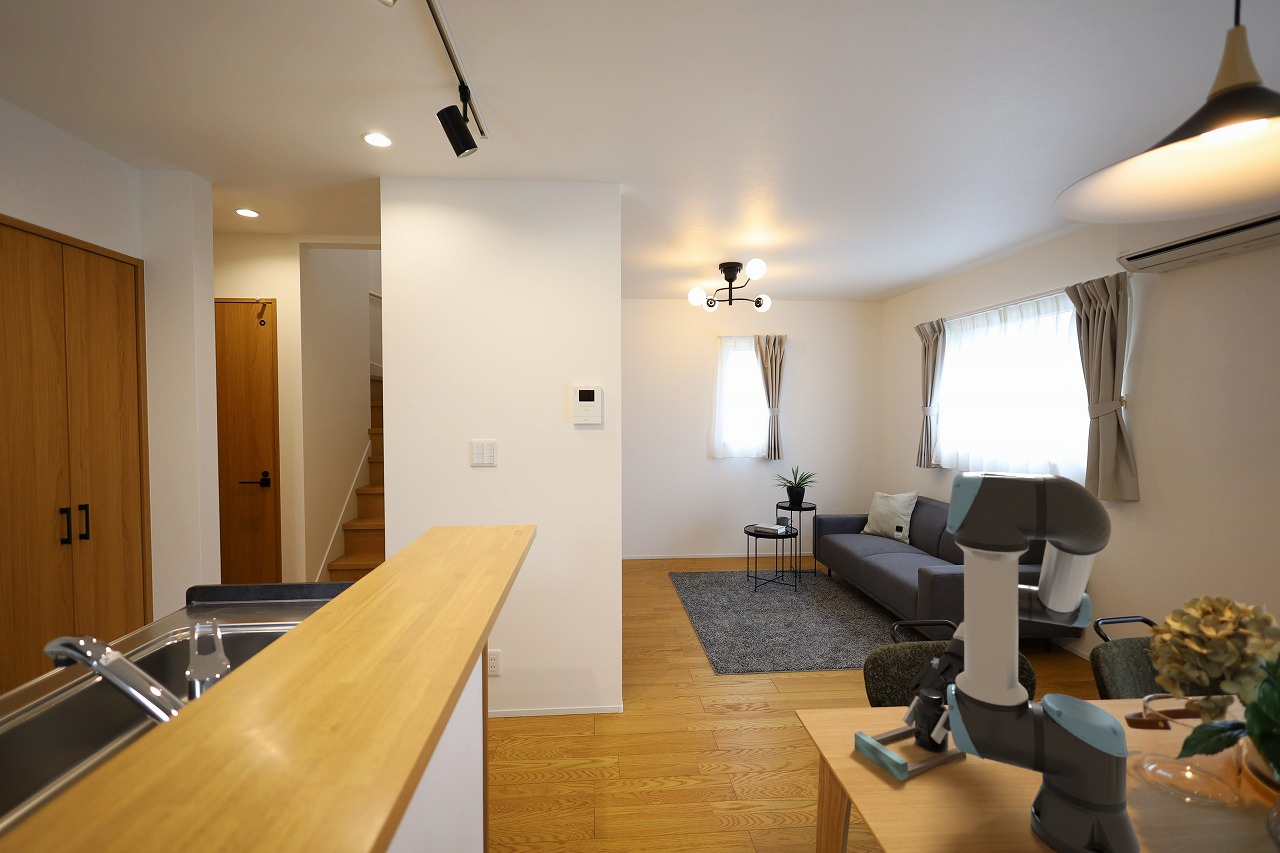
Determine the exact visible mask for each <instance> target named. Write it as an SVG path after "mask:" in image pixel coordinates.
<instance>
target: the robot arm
mask: <svg viewBox="0 0 1280 853" xmlns="http://www.w3.org/2000/svg"><path fill="white" fill-rule="evenodd" d="M951 487H952V488H951V494H950V499H949V500H950V501H949V506H948V515H947V521H946V528H945V529H946V532H948V533H950V534H951V535H953V534H954V543H955V544H956V545H957V546H958V547H959V548H960V550H962V551H963V580H964V581H963V587H964V588H963V591H964V592H963V595H964V596H963V597H964V598H963V601H964V602H963V604H964V605H963V611H964V612H963V613H964V614H963V615H964V617H963V619H962V621H961V622H960V623H959V625H958V627H957V628H956V630H955V632H954V633H953V635H952V637H953V638H951V639H950V641H949V642H948V643H947V646H946V647H945V649H944V654H943V655H942V656H941V657H940V658H937V657H933V656H932V655H930V654H929V655H927V656H926V660H925V663H924V665H923V666H922V667H921V668H920V669H919V671H918V672H917V674H916V676H914V678H913V679H912V681H911V682H910V684H908V687H907V688H908V689H909V690H910V691H911V693H912V696H911V698H910V699H909V701H908V703H907V707H908V709H907V710H906V712H905V714H904V716H903V718H902V721H903V722H904V723H905V724H906V726H907V725H908V726H909V727H911V726H912V725H913V723H915V704H916V702H917V701H919V700H920V699H919V696H920V690H921V689H924V688H929V689H934V690H936V689H938V688H939V687H940V686H941V685H942V684H945V683H947V682H950V683H952V684H948V686H947V688H946V697H947V699H946V700H947V710H948V712H947V711H944V713H943V715H942V717H941V718H940V720H939V722H938V724H937V725H936V727H935V729H934V731H933V733H932V734H931V737H932V738H933V739H934V740H935V741H936V742H937V743H938V744H940V743H941V741H942V739H943V737H944V736H945V734H946V732H947V730H948V732H951V737H952V741H953V743H954V745H955V748H958V749H959V750H961V751H962V752H965V753H966V754H968V755H971V756H975V757H978V758H979V759H982V760H984V759H986V760H990V761H994V762H999V763H1001V764H1005V765H1009V766H1013V767H1016V768H1017V767H1018V768H1021V769H1025V770H1029V771H1032V772H1037V773H1041V776H1042V781H1041V784H1040V786H1039V788H1038V791H1037V793H1036V795H1035V798H1034V800H1033V802H1032V804H1031V808H1030V824H1031V827H1032V828H1033V831H1034V832H1035V834H1036V836H1038V837H1039V838H1040V839H1041V840H1042V842H1044V843H1045V844H1046V845H1047V846H1048V847H1050V848H1051V849H1053V850H1054V851H1055V852H1057V853H1141V845H1140V842H1139V838H1138V836H1137V833H1136V831H1135V830H1136V829H1134V828H1135V827H1134V825H1133V823H1132V820H1131V818H1130V813H1129V812H1128V808H1127V757H1128V755H1129V751H1128V748H1127V747H1128V746H1127V736H1126V731H1125V729H1124V726H1123V725H1122V724H1121V722H1120V721H1119V720H1118V719H1117V718H1116V717H1114V716H1113V714H1111V713H1109V712H1107V711H1106V710H1105V709H1104V708H1103V709H1102V708H1101V707H1100V706H1097V705H1095V704H1093V703H1091V702H1089V701H1087V700H1083V699H1081V698H1077V697H1075V696H1071V695H1066V694H1061V693H1054V694H1053V693H1047V694H1044V696H1042V698H1041V700H1040V702H1038V701H1033V700H1029V694H1028V691H1027V689H1026V688H1025V687H1024V686H1023V685H1022V684H1021V683H1020V682H1019V620H1025V621H1033V622H1040V623H1046V624H1047V623H1048V624H1053V625H1061V626H1065V627H1070V628H1071V627H1078V628H1087V627H1089V626H1090V625H1091V623H1092V615H1093V612H1092V601H1091V598H1090V596H1089V594H1087V593H1086V592H1085V591H1086V588H1087V585H1088V582H1089V579H1090V576H1091V573H1092V570H1093V567H1094V566H1093V565H1094V563H1095V560H1096V557H1097V554H1099V553H1100V552H1102V551H1104V549H1105V548H1106V547H1107V546H1108V543H1109V540H1110V538H1111V535H1112V523H1111V519H1110V516H1109V513H1108V511H1107V509H1106V507H1105V506H1104V504H1103V503H1102V502H1101V500H1100V499H1099V498H1098V497H1097V496H1095V494H1094V493H1093V492H1092V491H1090V490H1089V489H1088V488H1086V487H1085V486H1083V485H1081V484H1080V483H1079V482H1077V481H1075V480H1072V479H1070V478H1069V477H1064V476H1061V475H1057V474H1051V473H1021V472H1018V473H1017V472H998V471H996V472H994V471H984V470H983V471H970V472H969V471H967V472H966V471H965V472H959V473H957V474H956V475H955V476H954V478H953V480H952V486H951ZM1029 540H1038V541H1046V544H1045V548H1044V554H1043V560H1042V565H1041V571H1040V574H1039V576H1040V577H1039V581H1038V586H1037V585H1030V584H1029V585H1028V584H1021V583H1020V584H1019V558H1020V556H1022V555H1023V554H1025V553H1027V552H1028V551H1029V548H1030V546H1029V545H1030V543H1029V542H1030V541H1029Z"/></svg>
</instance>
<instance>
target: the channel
mask: <svg viewBox="0 0 1280 853" xmlns="http://www.w3.org/2000/svg"><path fill="white" fill-rule="evenodd" d="M913 735H914V736H915V722H914V723H913V725H912V726H911V727H909V726H908V725H907V724H906V725H904V726H900V727H898V728H895V729H892V730H888V731H886V732H883V733H879V734H875V735H873V736H869V735H867V734H866V733H864V732H863V731H858V732H855V733H854V750H856V751H857V752H858V753H860V754H862V755H863V756H864V757H866V758H867V759H868V760H870V761H871V762H873V763H874V764H876V765H877V766H878V767H880V768H881V769H883V770H884V769H885V770H884V771H885V772H887V773H888V772H889V773H888V774H890V775H891V776H893V777H894V778H895V779H897V780H899V781H900V782H902V781H906V780H907V779H910V777H911V778H913V777H916V776H919V775H920V774H923V773H927V772H928V770H929V771H931V769H932V770H934V769H933V768H935V769H937V768H939V766H940V767H942V765H943V766H945V765H948V764H950V762H951V763H953V762H956V761H958V759H959V760H961V759H963V758H967V753H965V752H962V751H961V750H959V749H958V748H957V747H954V748H951V749H949V750H948V749H947V750H946V751H945V752H942V753H936V754H935V755H932V756H929V757H926V758H923V759H921V760H919V761H918V760H917V761H915V762H912V763H909V762H908V760H906V759H904V758H903V757H901V756H899V755H898V753H897V754H896V753H895V752H894V751H892V750H890V749H889V748H887V747H886V746H885V745H886V744H889V743H892V742H896V741H898V740H901V738H902V739H904V737H905V738H907V736H908V737H911V736H913ZM955 760H956V761H955ZM936 767H937V768H936ZM926 771H927V772H926Z"/></svg>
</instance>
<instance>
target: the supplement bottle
mask: <svg viewBox="0 0 1280 853" xmlns="http://www.w3.org/2000/svg"><path fill="white" fill-rule="evenodd" d="M919 699H920V700H919V701H917V702H916V704H915V721H914V723H915V734H914V741H915V743H916V744H917V746H919V747H920V748H921V749H923V750H925V751H927V752H931V753H936V754H940V753H943V752H945V751H948V749H949V731H948V730H947V732H946V734H945V736H944V737H943V739H942V741H941V743H940V744H938V743H937V742H936V741H935V740H934V739H933V738H932V737H931V734H932V733H933V731H934V729H935V727H936V725H937V724H938V722H939V720H940V718H941V717H942V715H943V713H944V711H947V712H948V707H946V706H945V704H944V701H945V700H944V694H943V693H942V692H941V691H939V690H936V689H935V690H934V689H929V688H924V689H921V690H920V696H919ZM948 713H949V712H948Z"/></svg>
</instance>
